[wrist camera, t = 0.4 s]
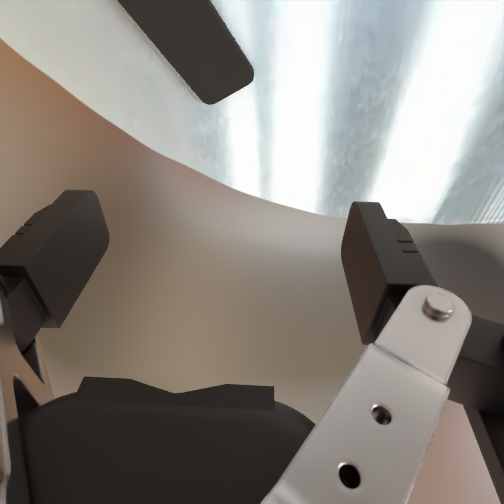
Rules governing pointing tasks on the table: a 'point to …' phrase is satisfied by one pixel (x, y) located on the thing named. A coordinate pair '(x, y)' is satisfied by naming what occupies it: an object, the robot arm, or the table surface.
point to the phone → (194, 44)
